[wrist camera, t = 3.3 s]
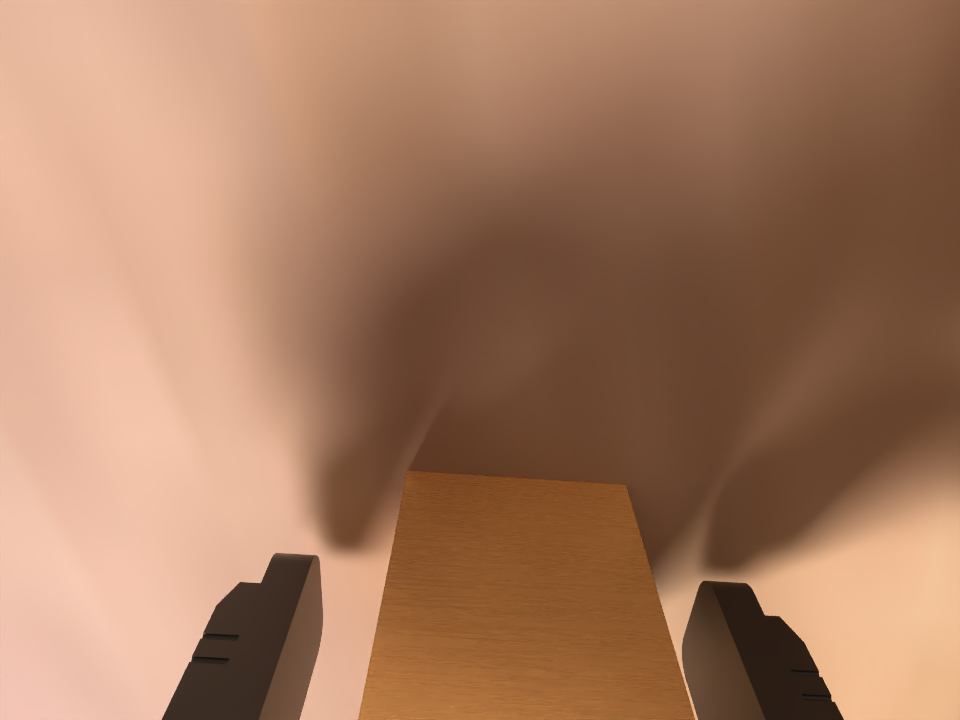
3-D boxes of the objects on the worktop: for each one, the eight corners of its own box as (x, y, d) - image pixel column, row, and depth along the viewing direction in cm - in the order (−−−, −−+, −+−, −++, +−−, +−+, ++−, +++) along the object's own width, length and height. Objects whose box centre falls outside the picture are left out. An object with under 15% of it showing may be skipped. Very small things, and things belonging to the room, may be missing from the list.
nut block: (625, 484, 12) (737, 863, 6) (593, 636, 14) (659, 1028, 8) (407, 469, 12) (334, 839, 6) (404, 623, 13) (346, 1012, 8)
